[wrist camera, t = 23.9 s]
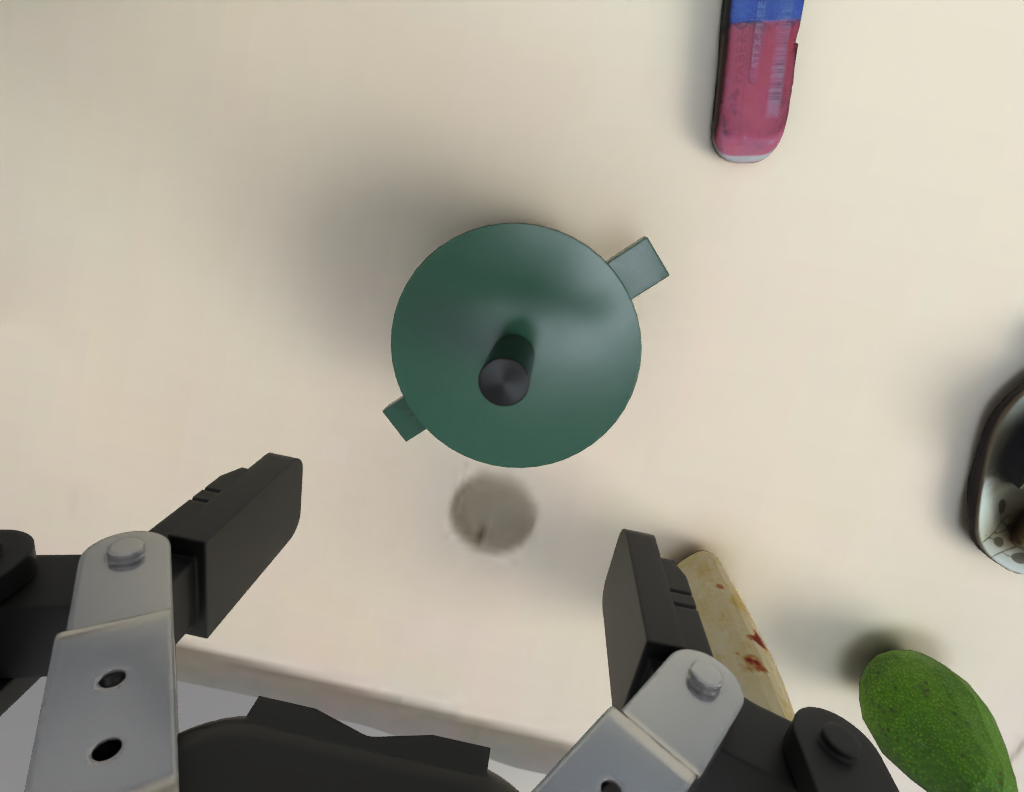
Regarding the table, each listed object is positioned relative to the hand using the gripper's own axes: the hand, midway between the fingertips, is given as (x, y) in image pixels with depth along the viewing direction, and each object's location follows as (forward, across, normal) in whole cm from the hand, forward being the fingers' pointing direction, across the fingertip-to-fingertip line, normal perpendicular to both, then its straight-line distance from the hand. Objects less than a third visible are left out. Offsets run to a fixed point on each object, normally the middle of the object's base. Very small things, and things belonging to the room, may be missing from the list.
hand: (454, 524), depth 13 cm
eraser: (+26, -10, -18) cm, 33 cm away
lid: (+17, 0, 0) cm, 17 cm away
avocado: (+26, -35, +22) cm, 49 cm away
